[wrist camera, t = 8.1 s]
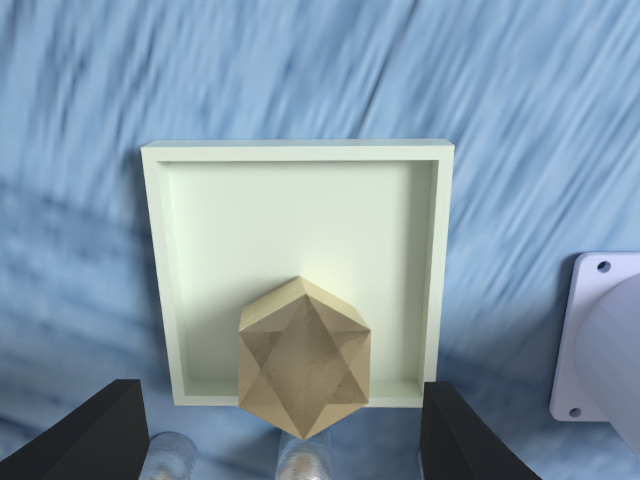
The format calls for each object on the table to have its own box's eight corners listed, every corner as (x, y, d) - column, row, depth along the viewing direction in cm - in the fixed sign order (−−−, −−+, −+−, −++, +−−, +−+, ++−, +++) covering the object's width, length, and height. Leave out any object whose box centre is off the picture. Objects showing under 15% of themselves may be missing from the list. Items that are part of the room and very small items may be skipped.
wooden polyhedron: (355, 275, 21) (372, 293, 18) (351, 398, 22) (367, 438, 18) (242, 275, 21) (238, 293, 17) (242, 401, 21) (238, 442, 18)
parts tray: (444, 138, 19) (454, 145, 18) (426, 384, 23) (433, 407, 21) (155, 140, 19) (140, 147, 18) (184, 382, 23) (174, 405, 22)
